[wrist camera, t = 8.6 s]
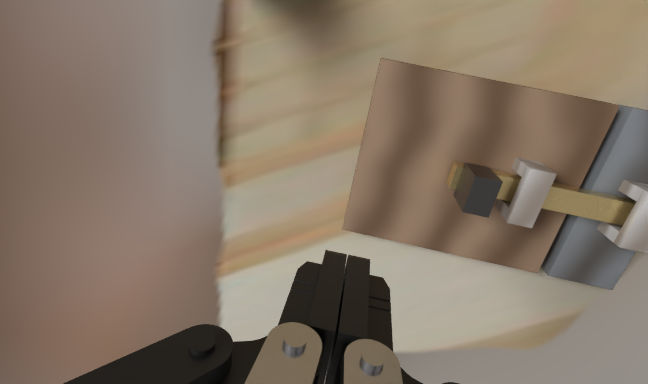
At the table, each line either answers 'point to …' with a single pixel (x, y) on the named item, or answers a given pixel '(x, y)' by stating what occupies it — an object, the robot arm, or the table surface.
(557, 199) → the barrel bolt
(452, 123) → the sliding latch board
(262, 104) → the table surface
